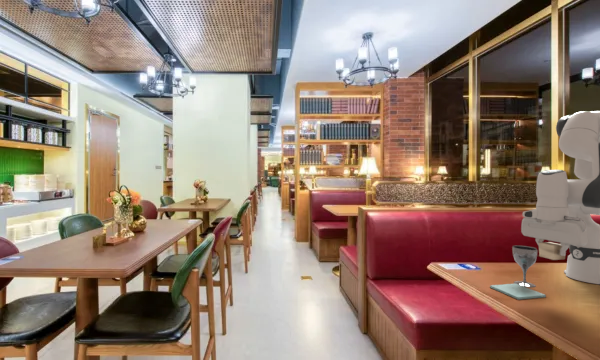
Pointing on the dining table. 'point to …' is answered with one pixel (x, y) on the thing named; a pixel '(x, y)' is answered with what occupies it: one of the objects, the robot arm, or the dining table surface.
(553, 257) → the cube
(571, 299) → the dining table surface
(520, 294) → the pad
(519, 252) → the wine glass
